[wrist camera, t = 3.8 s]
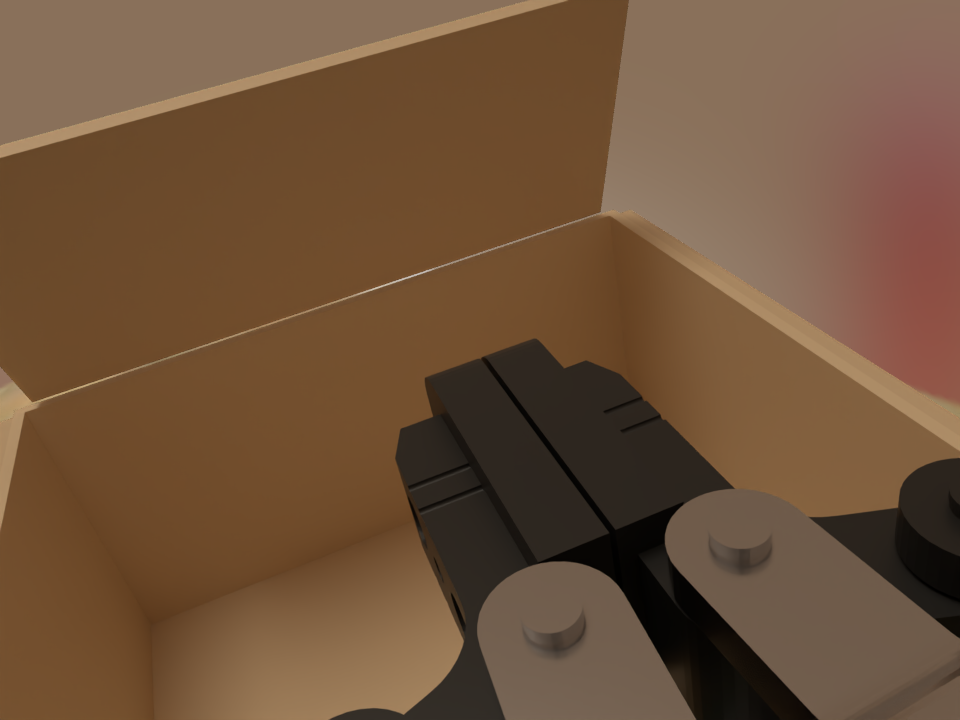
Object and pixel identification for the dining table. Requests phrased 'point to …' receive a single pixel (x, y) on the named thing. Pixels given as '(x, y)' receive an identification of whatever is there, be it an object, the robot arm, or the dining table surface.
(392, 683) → the carton
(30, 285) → the carton flap
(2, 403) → the dining table surface
